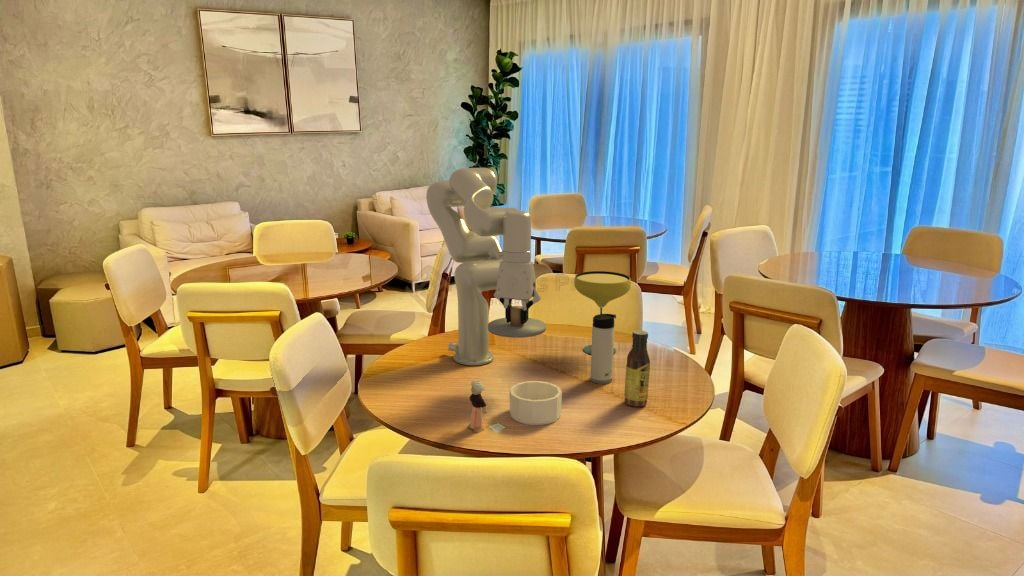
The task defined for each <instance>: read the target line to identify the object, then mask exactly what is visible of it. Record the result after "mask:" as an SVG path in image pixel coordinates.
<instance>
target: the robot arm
mask: <svg viewBox="0 0 1024 576" xmlns="http://www.w3.org/2000/svg"><path fill="white" fill-rule="evenodd" d="M497 181H498V180H497V176H496V174H495V173H494V171H493V170H491V169H490V168H488V167H462V168H459V169H456V170H455V171H453V172H452V173H451V175H450V176H449V180H438V181H435V182H433V183H431V184H430V185H429V186H428V188H427V189H426V205H427V208H428V211H429V213H430V216H432V217H431V218H432V219H433V220H434V222H435V224H436V225H437V226H438V228H439V229H440V232H441V235H442V236H443V240H444V242H445V244H446V248H447V250H448V252H449V254H450V257H451V259H452V260H453V261H454V262H456V263H459V265H458V266H457V267H455V270H454V275H453V276H454V283H455V287H456V294H457V312H458V313H457V315H458V316H457V318H458V319H457V320H458V321H457V327H458V328H457V329H458V337H457V338H458V343H456V342H449V343H448V347H447V349H448V351H451V352H455V353H454V354H453V360H454V361H455V362H456V363H457V364H460V365H463V366H483V365H486V364H491V362H492V361H493V360H494V359H495V358H494V353H492V352H491V351H489V347H490V345H489V344H490V340H489V339H490V338H489V334H490V332H489V331H488V324H489V323H490V319H489V309H490V307H489V303H488V301H487V299H486V298H485V297H484V296H483V294H482V293H483V292H485V291H486V292H487V291H493V290H494V291H495V292H494V293H493V297H494V298H495V299H497V300H498V301H499V302H500V303H501V304H502V306H503V308H504V309H505V310H504V311H505V312H504V313H505V317H504V318H506V319H507V323H509V322H510V307H512V306H513V305H512V304H513V300H516V301H518V300H519V301H521V306H522V310H521V324H525V323H526V322H527V321H528V318H529V309H530V308H531V307H532V306H533V305H535V304H536V303H538V302H540V301H541V299H542V298H541V297H540V295H539V293H538V291H537V280H536V272H535V265H534V262H533V261H532V249H531V248H532V216H531V214H530V212H528V211H525V210H524V211H523V210H520V209H518V208H515V207H498V208H497V207H496V208H490V207H491V205H492V203H493V201H494V193H495V191H496V190H497V185H498V182H497ZM456 207H457V208H458V207H463V215H464V216H462V215H461V214H460V213H459V212H458V211H456V210H455V209H453V208H456ZM470 229H471V230H470ZM496 236H502V247H501V245H500V243H499V240H498V238H497V237H496ZM531 298H532V299H531Z"/></svg>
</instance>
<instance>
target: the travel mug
mask: <svg viewBox="0 0 1024 576" xmlns="http://www.w3.org/2000/svg"><path fill="white" fill-rule="evenodd" d="M615 319H617V315H616V314H615V313H614V314H613V313H602V314H600V313H599V314H595V315H593V317H592V331H591V333H592V334H591V345H592V351H591V355H590V360H591V361H590V380H591V382H592V383H595V384H598V385H599V384H600V385H606V384H609V383H611V382H612V381H613V364H614V361H613V360H614V354H613V348H614V345H615V344H614V343H615V342H614V341H615Z"/></svg>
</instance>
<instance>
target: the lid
mask: <svg viewBox="0 0 1024 576" xmlns="http://www.w3.org/2000/svg"><path fill="white" fill-rule="evenodd" d="M521 310H522V305H512V307H510V322H509V323H507V319H506V318H505V317H503V318H502V317H501V318H497V319H494V320H491V321H489V324H488V331H489V334H490V333H491V335H495V336H498V337H503V338H515V339H516V338H518V339H519V338H530V337H536V336H540V335H542V334H544V333H545V332H546V328H547V326H546V323H545V322H544V321H542V320H539V319H537V318H532V317H528V321H527V322H526V323H525V324H521Z"/></svg>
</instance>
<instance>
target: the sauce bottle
mask: <svg viewBox="0 0 1024 576" xmlns="http://www.w3.org/2000/svg"><path fill="white" fill-rule="evenodd" d="M648 339H649V333H648V332H647V331H645V330H634V331H632V345H631V349H630V350H629V352H628V353H627V357H626V365H625V379H624V403H625V404H626V405H628V406H631V407H634V408H635V407H644V406H646V405H647V403H648V400H649V399H648V398H649V385H650V384H649V383H650V372H651V371H650V370H651V360H650V356H649V353H648V352H649V351H648V349H647V348H648V345H647V343H648Z"/></svg>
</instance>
